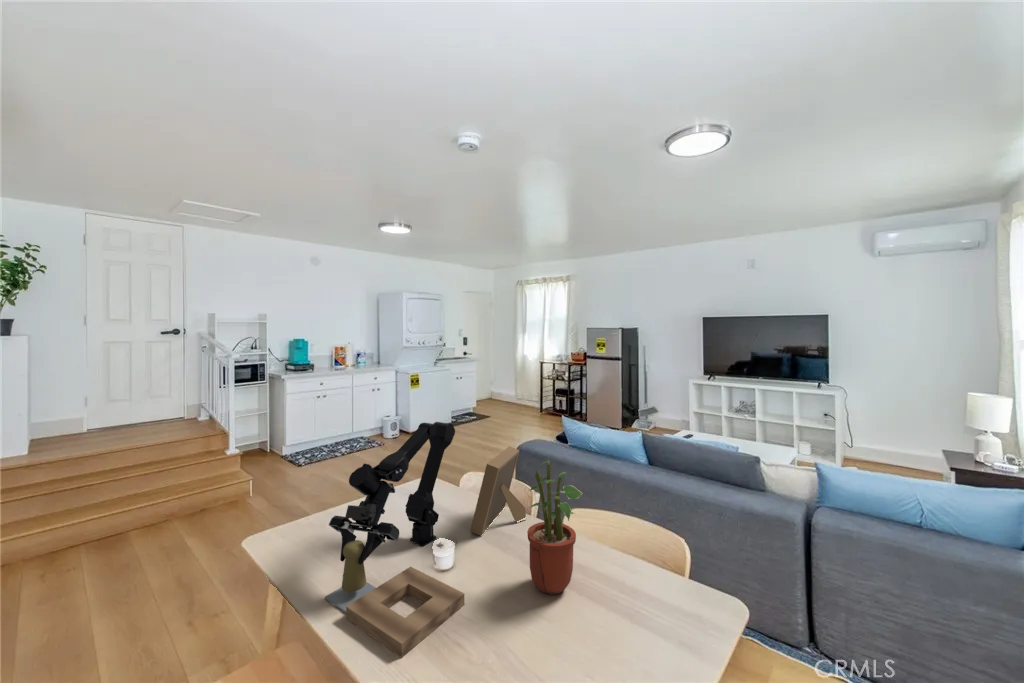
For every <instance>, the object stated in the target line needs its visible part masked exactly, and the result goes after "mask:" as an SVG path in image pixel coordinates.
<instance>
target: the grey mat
mask: <svg viewBox="0 0 1024 683" xmlns="http://www.w3.org/2000/svg"><path fill="white" fill-rule="evenodd" d="M375 588H377V587H376V586H374V585H372V584H371V583H369V582H368V581H366V585H365V586H364V587H363V588H361V589H360V590H357V591H354V592H346V591H344V590H343V589H342V586H341V587H339V588H338V589H336V590H334V591H332V592H330V593H329V594H326V596H324V597H323V598H325V599H324V600H326V599H327V600H328V601H327V600H326V601H327V602H328V603H330V602H331V603H332V605H333V604H334V605H335V606H334V605H333V606H334V607H336V608H337V607H338V608H337V609H339V610H340V609H341V610H340V611H342V612H343V611H344V612H345V614H346V606H348V605H349V604H351V603H353V602H354V601H356V600H357V599H359V598H361V597H362V596H364V595H365V594H367V593H369V592H370V591H372V590H373V589H375ZM331 603H330V604H331ZM344 612H343V613H344Z"/></svg>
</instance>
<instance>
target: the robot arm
mask: <svg viewBox="0 0 1024 683" xmlns="http://www.w3.org/2000/svg"><path fill="white" fill-rule="evenodd" d="M455 435H456V429H455V427H454V425H453V424H452V423H448V422H442V421H441V422H440V421H435V422H434V423H430V422H422V423H420V424H419V425H418V428H417V429H416V430H415V431H414V432H413V434H411V436H409V438H408V439H406V441H404V443H403V444H402V445H401V446H400V447H399V449H398V450H396V451H395V452H393V453H391V454H388V455H387V456H386V457H384V458H383V459H381V461H380V462H379V463H378V464H376V465H375V466H372V465H370V464H368V463H363V464H362V466H361V467H358V468H356V469H355V470H354V471H353V472H351V474H350V476H349V478H348V483H349V485H350V486H351V487H352V488H353V489H355V490H356V491H358V492H359V493H360V494H362V495H363V496H366V497H365V499H364V500H361V501H360V503H359V505H352V504H351V505H350V504H348V505H347V508H346V513H345V516H342V515H334V516H333V517H331V519H330V521H329V523H328V526H329V527H330V528H332V529H334V530H335V531H336V532H338V533H340V535H341V548H340V549H341V551H340V561H341V562H345V557H344V555H343V549H344V546H345V545H346V544H347V543H348V542H350V541H354V540H357V539H356V538H357V535H355V534H354V532H355V531H357V532H365V533H366V534H367V535H366V536H367V537H366V542H365V544H364V549H363V551H362V554H361V556H360V559H359V562H358V564H360V565H361V564H362V563H363V562H365V561H366V560H367V559H368V558H369V557H370V555H371V554H373V552H374V551H375V550H377V548H378V547H379V546H381V544H383V543H386V541H393V542H394V541H395V542H397V541H398V539H399V536H400V530H399V528H398V527H397V526H395V525H394V524H393V523H390V522H383V521H381V522H379V521H380V519H381V516H382V515H384V514H385V512H386V510H385V509H384V508H385V506H386V503H387V500H388V498H389V496H390V494H395V493H396V489H395V487H394V483H397V482H398V483H399V482H401V480H402V479H403V478H404V477H405V475H406V474H407V473H408V472H407V471H408V470H409V467H410V466H409V465H410V462H411V461H412V459H413V458H414V457H415V456H416V454H418V452H419V451H420V450H421V449H422V447H423V446H424V445H425V444H426V443H427V441H428V440H429V446H430V447H429V450H428V454H427V457H426V461H425V464H424V467H423V470H422V474H421V476H420V481H419V484H418V487H417V490H415V492H413V493H410V494H408V495H409V496H408V497H407V502H406V504H405V505H404V506H405V513H406V514H405V515H406V517H407V520H408V521H409V522H413V523H412V529H411V536H412V537H410V538H409V541H410V542H412V543H413V544H416V545H419V546H420V547H425V546H426V545H429V544H430V543H431V542H433V541H435V540H437V538H438V536H437V535H435V534H434V526H435V525H436V524H437V523H438V521H439V513H438V512H437V511H435V510H434V506H435V500H434V495H433V491H434V488H435V485H436V481H437V477H438V475H439V471H440V468H441V463H442V460H443V456H444V453H445V451H446V449H447V448H448V447H449V446H450V445H451V444H452V443H453V439H454V437H455ZM387 481H388V482H389V483H388V482H387ZM390 482H394V483H390ZM350 519H351V520H350ZM354 521H355V522H354ZM434 539H435V540H434Z"/></svg>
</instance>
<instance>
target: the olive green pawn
mask: <svg viewBox="0 0 1024 683" xmlns="http://www.w3.org/2000/svg"><path fill="white" fill-rule="evenodd" d="M364 546H365V544H364V542H363V541H361V540H359V539H358V540H357V539H355V540H354V541H350V542H348V543H347V544H346V545H345V546H344V549H343V555H344V557H345V560H344V566H343V575H342V581H341V587H342V589H343V590H344V591H346V592H354V591H357V590H360V589H361V588H363V587H364V586H365V585H366V582H367V578H366V577H367V576H366V571H365V570H366V568H365V564H364V562H365V561H364V562H363V563H362V564H361V565H360V564H358V562H359V559H360V556H361V554H362V551H363V549H364Z"/></svg>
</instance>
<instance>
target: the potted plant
mask: <svg viewBox="0 0 1024 683" xmlns="http://www.w3.org/2000/svg"><path fill="white" fill-rule="evenodd" d="M543 464H546V476H543V477H541V476H542V475H541V474H540V471H539V469H538V468H537V469H536V471H535V474H534V475H535V479H536V482H537V485H532V486H531V488H530V489H529V492H530V491H533V490H537V489H538V490H539V494H540V500H541V502H535V503H534V504H532V505H530V506H529V507H528V508H527V510H526V509H525V512H526V511H528V509H529V510H530V508H533V507H537V506H541V509H542V514H543V521H541V522H537V523H534V524H532V525H531V526H529V528H528V529H527V540H528V542H529V569H530V570H529V571H530V577H531V580H532V582H533V584H534V585H535V587H536V588H537V589H538V590H540V591H541V592H543V593H544V592H545V594H547V593H548V595H557V594H560V593H562V592H563V591H565V590H566V589H567V587H568V586H569V584H571V580H572V575H573V570H574V544H575V543H576V540H577V534H576V531H575V530H574V529H573V527H571V526H570V525H567V524H565V523H563V515H564V516H565V517H566V518H567V522H569V521H570V518H571V515H576V513H574V512H573V511H572V508H571V507H570V504H569V503H568V502H561V495H560V494H562V493H563V494H565V496H566V498H568V500H576V499H577V500H578V499H579V498H580V497H581V496H582V495H583V494H584V493H583V492H582V491H580V490H579V489H578V488H577V487H575V486H574V485H570V484H569V485H567V484H565V485H564V486H563V487H561V486H562V483H563V482H562V481H563V480H562V478H563V477H564V478H565V476H566V474H567V471H563V472H561V473H560V474H559V475H558V479H552V466H551V465H552V464H551V461H550V460H546V461H544V462H542V463H541V465H543ZM543 482H545V483H546V484H547V485H546V488H547V489H546V490H547V496H545V495H546V494H545V490H544V485H543ZM552 483H557V486H556V492H553V491H552ZM561 488H562V489H563V491H562V490H561ZM552 494H555V496H554V497H553V498H554V511H552ZM546 497H547V501H546ZM562 514H563V515H562ZM556 593H557V594H556Z"/></svg>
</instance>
